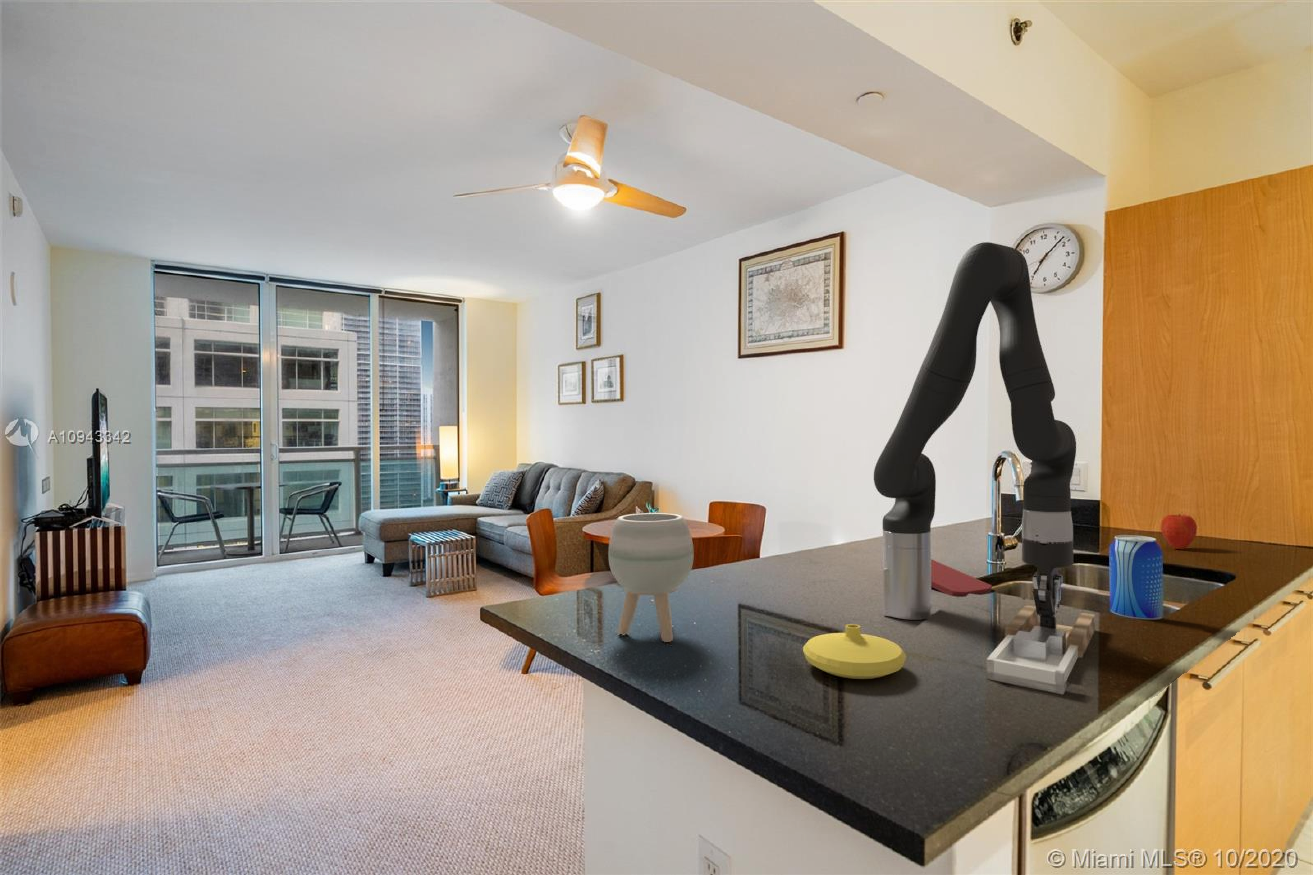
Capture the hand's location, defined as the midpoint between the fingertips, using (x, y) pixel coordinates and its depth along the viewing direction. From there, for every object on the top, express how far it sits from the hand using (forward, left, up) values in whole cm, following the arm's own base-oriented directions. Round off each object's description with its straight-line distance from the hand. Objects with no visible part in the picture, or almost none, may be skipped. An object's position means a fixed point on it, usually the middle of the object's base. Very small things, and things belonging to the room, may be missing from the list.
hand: (1048, 637), depth 112 cm
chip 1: (-4, -8, -1) cm, 9 cm away
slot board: (+1, +3, -2) cm, 4 cm away
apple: (+57, +110, -2) cm, 123 cm away
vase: (-31, -19, -2) cm, 37 cm away
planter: (-68, -11, -2) cm, 69 cm away
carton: (-15, +47, -3) cm, 49 cm away
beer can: (+20, +24, -2) cm, 31 cm away
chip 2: (-1, -4, -1) cm, 4 cm away
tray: (-5, -12, -2) cm, 13 cm away
